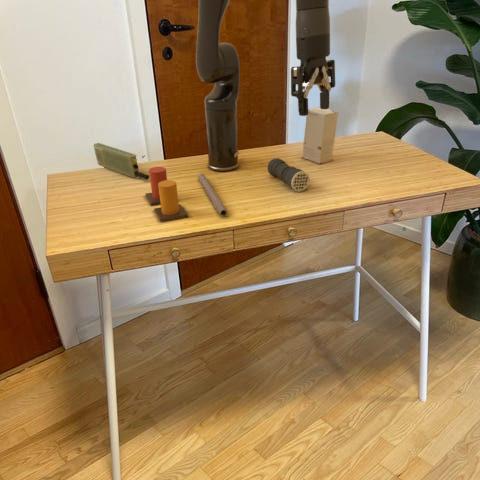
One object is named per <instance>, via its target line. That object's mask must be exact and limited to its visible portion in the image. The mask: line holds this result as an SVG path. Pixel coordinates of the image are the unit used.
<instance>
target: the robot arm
mask: <svg viewBox="0 0 480 480" xmlns="http://www.w3.org/2000/svg"><path fill="white" fill-rule="evenodd" d="M329 2H330V0H295V44H296V45H295V46H296V48H295V49H296V51H295V52H296V59H297V60H299V61H300V66H299V65H298V66H291V68H290V95H291V97H295V98H296V99H297V106H298V107H297V109H298V110H297V111H298V115H299V116H300V117H305V116H307V115H308V109H309V97H308V96H309V93H310V91H311V89H313V87H314V86H315V85H316V86H317V87H318V89H319V91H320V92H319V107H320V108H321V109H329V108H330V92H331V91H332V89H333V88H335V87H336V67H335V66H336V60H335V59H327V57H329V56H330V55H331V16H330V7H329V6H330V3H329ZM229 3H230V0H198V12H197V13H198V15H197V16H198V18H197V34H196V35H197V36H196V47H195V48H196V49H195V65H196V66H195V67H196V72H197V74H198V75H197V76H198V77H199V79H200V80H201V81H202V82H203V83H204V84H207V85H211V84H214V86H213V89H212V90H211V91H210V92H209V93H208V94H207V95H206V96H205V98H204V111H205V112H204V113H205V129H206V142H207V143H206V144H207V145H206V146H207V161H208V164H207V165H208V166H207V167H208V169H210V170H211V171H215V172H229V171H233V170H235V169H237V168H239V155H240V151H239V147H238V146H239V145H238V143H239V142H238V109H237V108H238V106H237V105H238V104H237V103H238V102H237V101H238V99H239V95H240V58H239V54H238V51H237V49H236V48H235V46H234V45H233V44H232V43H230V42H220V32H221V24H222V21H223V18H224V15H225V12H226V10H227V8H228V5H229ZM329 77H330V78H329Z"/></svg>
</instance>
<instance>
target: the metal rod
mask: <svg viewBox="0 0 480 480" xmlns="http://www.w3.org/2000/svg"><path fill="white" fill-rule="evenodd" d="M197 179H198V180H199V182H200V184H201V185H202V187H203V189H204V190H205V192H206V194H207V195H208V197H209V199H210V201H211V202H212V204H213V205H214V208H215V209H216V210H217V212H218V214H219V215H220V217H222V218H225V217H227V216H228V213H229V212H228V210H227V208H226V206H225V205H224V204H223V203H222V201H221V199H220V197H219V196H218V194H217V193H216V191H215V190H214V187H212V185H211V183H210V182H209V181H208V178H207V177H206V175H205V174H204V173H198V176H197Z"/></svg>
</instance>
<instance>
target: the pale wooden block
mask: <svg viewBox="0 0 480 480" xmlns="http://www.w3.org/2000/svg"><path fill="white" fill-rule="evenodd" d="M338 117H339V112H338V111H335V110H332V109H329V108H328V109H321V108H320V106H317V107H311V108H308V115H306V117H305V127H304V136H303V137H304V138H303V144H302V145H303V146H302V154H301V157H302V159H305V160H308V161H311V162H314V163H316V164H319V165H320V164H324V163H327V162H331V161H332V160H333V153H334V145H335V140H336V139H335V138H336V131H337V124H338Z"/></svg>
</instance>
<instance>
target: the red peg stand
mask: <svg viewBox="0 0 480 480" xmlns="http://www.w3.org/2000/svg"><path fill="white" fill-rule="evenodd" d="M148 175H149V182H150V188H151V189H150V190H151V192H147V193H145V197H146V199H147V201H148V203H149V205H150V206H156V205H157V206H158V205H161V203H160V195H159V188H158V183H159V182H161V181H165V180H168V176H167V169H166V167H164V166H153V167H150V168H149V169H148Z"/></svg>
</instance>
